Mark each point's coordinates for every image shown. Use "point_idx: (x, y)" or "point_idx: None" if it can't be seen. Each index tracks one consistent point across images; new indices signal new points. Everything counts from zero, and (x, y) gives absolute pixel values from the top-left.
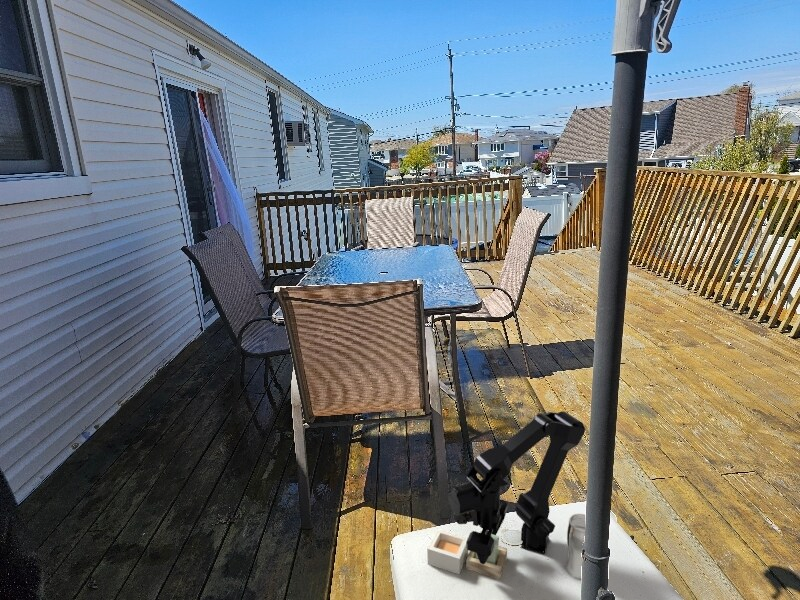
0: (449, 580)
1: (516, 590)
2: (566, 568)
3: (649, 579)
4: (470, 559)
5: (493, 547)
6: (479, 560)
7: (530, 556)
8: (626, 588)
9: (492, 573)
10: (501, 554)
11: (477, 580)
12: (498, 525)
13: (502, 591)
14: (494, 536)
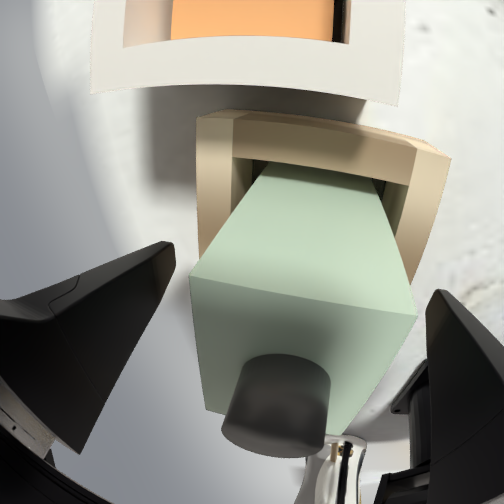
0: None
1: None
2: (334, 436)
3: None
4: (208, 147)
5: (69, 448)
6: (137, 252)
7: (383, 379)
8: (301, 471)
9: None
10: None
11: (174, 188)
12: (440, 450)
13: (171, 294)
14: (330, 420)
